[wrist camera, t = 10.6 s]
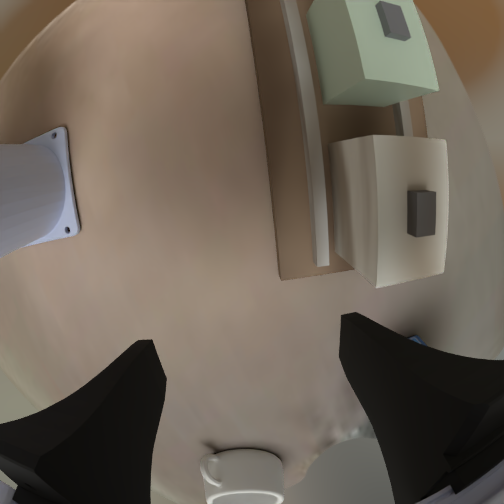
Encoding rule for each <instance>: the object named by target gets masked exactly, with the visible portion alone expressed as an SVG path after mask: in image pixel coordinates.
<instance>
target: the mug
mask: <svg viewBox="0 0 504 504" xmlns="http://www.w3.org/2000/svg"><path fill="white" fill-rule="evenodd" d="M200 470H201V473H202V475H203V478H204V486H205V495H206V501H207V504H281V503H282V502H283V500H284V472H283V465H282V462H281V460H280V459H279V458H278V457H276V456H275V455H274V454H271V453H269V452H266V451H262V450H256V449H235V450H227V451H223V452H220V453H217V454H215V455H213V454H207V455H205V456H204V457H203V458H202V459H201V462H200Z"/></svg>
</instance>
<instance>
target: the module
mask: <svg viewBox="0 0 504 504" xmlns="http://www.w3.org/2000/svg"><path fill="white" fill-rule="evenodd" d="M306 18H307V22H308V26H309V31H310V35H311V40H312V45H313V49H314V54H315V60H316V65H317V70H318V76H319V82H320V88H321V94H322V101H323V104H330V105H361V106H377V107H386V106H389V105H392V104H395V103H399V102H402V101H405V100H409V99H412V98H415V97H419V96H422V95H426V94H430V93H433V92H437V91H439V87H438V82H437V77H436V73H435V69H434V65H433V61H432V57H431V53H430V50H429V46H428V43H427V39H426V36H425V33H424V30H423V27H422V24H421V21H420V19H419V16H418V13H417V10H416V8H415V5H414V3H413V0H314V1H313V3H312V5H311V6H310V8H309V10H308V12H307V14H306Z"/></svg>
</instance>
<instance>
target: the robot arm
mask: <svg viewBox="0 0 504 504" xmlns="http://www.w3.org/2000/svg"><path fill="white" fill-rule="evenodd" d="M55 133H57V136H56V138H54V136H55ZM67 227H69V228H70V232H68V230H67ZM79 232H80V224H79V219H78V214H77V209H76V203H75V197H74V191H73V185H72V177H71V170H70V161H69V151H68V139H67V130H66V128H65V127H58V128H56V129H53V130H51V131H49V132H47V133H44V134H42V135H40V136H38V137H36V138H34V139H31V140H29V141H27V142H25V143H23V144H0V258H2V257H3V256H5V255H7V254H9V253H11V252H13V251H15V250H17V249H19V248H22V247H26V246H30V245H34V244H39V243H43V242H47V241H52V240H56V239H61V238H65V237H70V236H75V235H77V234H78V233H79ZM339 358H340V361H341V364H342V367H343V369H344V372H345V375H346V377H347V379H348V381H349V383H350V385H351V386H352V388H353V390H354V392H355V394H356V396H357V397H358V399H359V401H360V403H361V405H362V407H363V409H364V410H365V412H366V414H367V416H368V418H369V420H370V422H371V424H372V426H373V429H374V432H375V434H376V437H377V440H378V442H379V445H380V448H381V451H382V454H383V457H384V460H385V464H386V467H387V470H388V475H389V478H390V482H391V486H392V491H393V496H394V500H395V504H504V360H487V359H477V358H470V357H465V356H460V355H455V354H451V353H447V352H443V351H440V350H437V349H434V348H431V347H428V346H425V345H422V344H420V343H417V342H415V341H413V340H411V339H408V338H406V337H404V336H402V335H400V334H398V333H396V332H394V331H392V330H390V329H388V328H386V327H384V326H382V325H380V324H378V323H376V322H374V321H373V320H371V319H369V318H367V317H365V316H363V315H361V314H359V313H357V312H354V313H349V314H344V315H341V330H340V347H339ZM166 381H167V378H166V376H165V373H164V370H163V368H162V365H161V362H160V360H159V357H158V354H157V352H156V349H155V346H154V343H153V340H152V339H151V340H138V341H136V342H135V343H134V344H132V345H131V346H130V347H129V348H128V349H127V350H126V351H124V352H123V353H122V354H121V355H120V356H119V357H118V358H117V359H115V360H114V361H113V362H112V363H111V364H110V365H109V366H108V367H106V368H105V369H104V370H103V371H102V372H101V373H99V374H98V375H97V376H96V377H94V378H93V379H92V380H91V381H89V382H88V383H87V384H86V385H84V386H83V387H81V388H80V389H79V390H77V391H76V392H74V393H73V394H71V395H70V396H68V397H66V398H65V399H63V400H61V401H59V402H57V403H55V404H54V405H52V406H50V407H48V408H46V409H44V410H42V411H39V412H37V413H35V414H32V415H29V416H27V417H24V418H21V419H18V420H15V421H10V422H7V423H3V424H0V470H1V471H3V472H4V473H5V474H6V475H7V476H8V477H9V478H10V479H11V480H13V481H14V482H15V483H16V484H17V485H18V486H17V489H16V490H15V489H13V488H12V487H10V486H9V485H7V484H6V483H4V482H2V481H1V480H0V504H151V501H150V500H151V499H150V486H151V465H152V454H153V448H154V443H155V438H156V434H157V430H158V426H159V422H160V417H161V413H162V409H163V405H164V401H165V392H166Z"/></svg>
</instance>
